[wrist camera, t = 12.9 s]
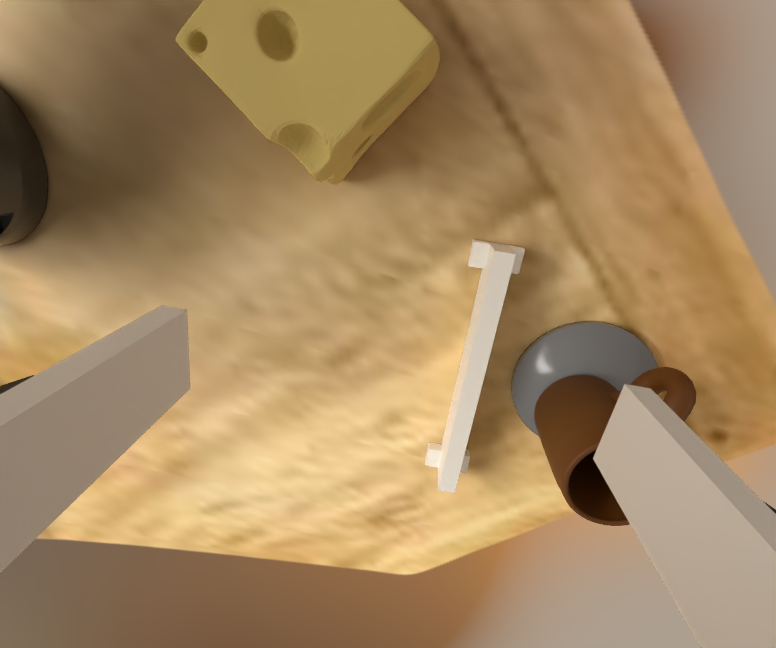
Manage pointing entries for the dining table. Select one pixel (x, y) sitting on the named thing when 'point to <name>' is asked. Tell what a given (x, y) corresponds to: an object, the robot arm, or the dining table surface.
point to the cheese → (315, 70)
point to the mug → (594, 434)
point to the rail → (474, 357)
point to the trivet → (577, 361)
